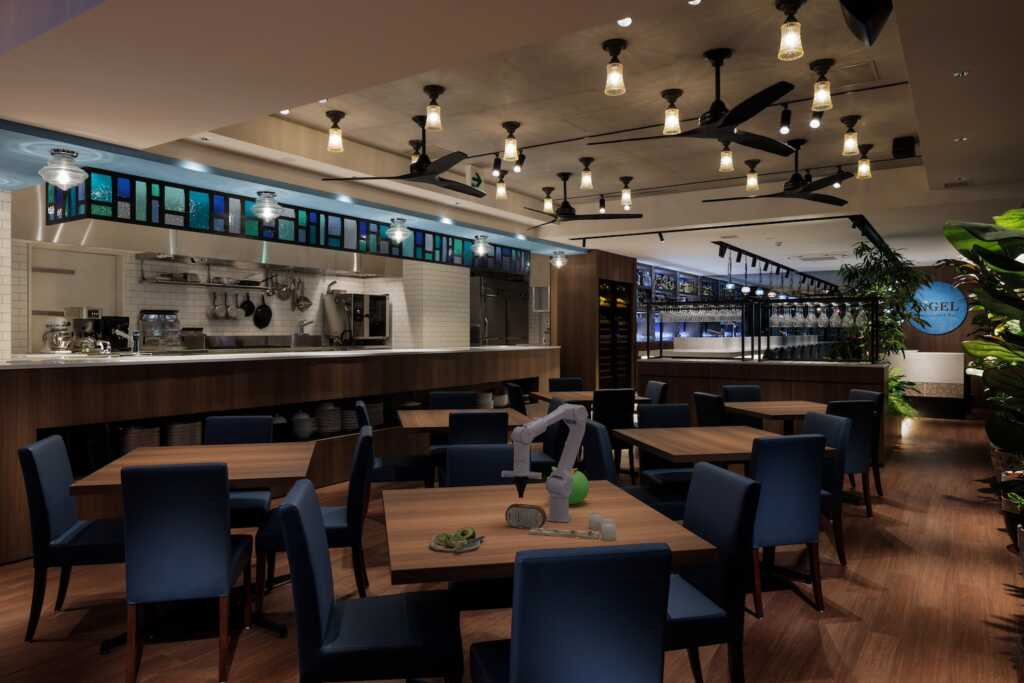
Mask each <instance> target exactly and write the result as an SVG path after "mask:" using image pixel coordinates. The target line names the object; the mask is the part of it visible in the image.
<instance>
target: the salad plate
mask: <svg viewBox="0 0 1024 683" xmlns="http://www.w3.org/2000/svg"><path fill="white" fill-rule="evenodd" d="M485 538H486V536H485V535H477V534H476V531H475V529H474V528H473V527H471V526H467V527H466V526H465V527H462V528H460V529H459V530H457V531H456V532H455V533H445V532H444V533H439V534H436V535H434V536H432V537H431V539H430V540H431V541H430V542H429V543H430V544H429V545H430V546H429V547H431V548H432V549H433V550H435V551H437V552H440V553H464V552H470V551H473V550H476V549H479V547H480V545H481V542H482V541H483V540H484V539H485ZM438 545H439V546H445V547H448V548H442V547H438Z"/></svg>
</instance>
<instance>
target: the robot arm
mask: <svg viewBox="0 0 1024 683" xmlns="http://www.w3.org/2000/svg"><path fill="white" fill-rule="evenodd" d="M588 417H589V413H588V410H587V409H586V407H585V406H584V405H582V404H570V403H563V404H562V405H559V406H558V407H557V408H556V409H555V410H553V411H552V412H550V413H548V414H547V415H546V416H544V417H535V416H534V417H533V418H532V420H531V421H529V422H527V423H523V425H522V426H516V427H515V428H513V430H512V432H511V434H510V438H511V441H512V442H513V470H502V471H501V478H505V477H506V478H513V479H512V482H513V483H514V485H515V487H516V490H517V495H518V499H523V498H524V497H525V496H524V495H525V491H526V487H527V485H528V483H529V481H530V479H535V480H536V479H537V480H542V478H543V477H542V472H535V471H530V456H531V455H530V452H531V451H530V450H531V449H530V448H531V443H532V442H533V440H534V438H536V437H538V436H539V435H541V434H543V433H544V432H546V431H547V427H549V426H551V425H553V424H555V423H557V422H559V421H561V420H563V421H564V423H565V424H566V425H567V427H568V428H569V432H568V435H567V438H566V442H565V445H564V446H563V450H562V453H561V456H560V458H559V461H558V464H557V467H556V468H557V469H556V470H554V471H553V470H552V472H551V473H550V476H548V477H549V478H548V479H547V478H546V480H545V481H546V482H545V490H546V491H547V492H548V495H549V504H548V505H549V507H548V509H549V511H548V513H549V514H548V517H547V518H546V521H547V522H555V521H556V522H558V523H568V522H569V520H570V519H571V517H572V515H571V514H569V510H570V508H569V506H570V504H569V500H568V499H569V497H570V494H571V493H572V490H573V481H574V479H573V477H572V475H571V471H572V469H574V468H573V467H574V465H575V462H576V458H577V456H578V454H579V450H580V447H581V445H582V444H581V443H582V440H583V438H584V435H585V432H586V422H587V420H588ZM561 478H563V479H561Z"/></svg>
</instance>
